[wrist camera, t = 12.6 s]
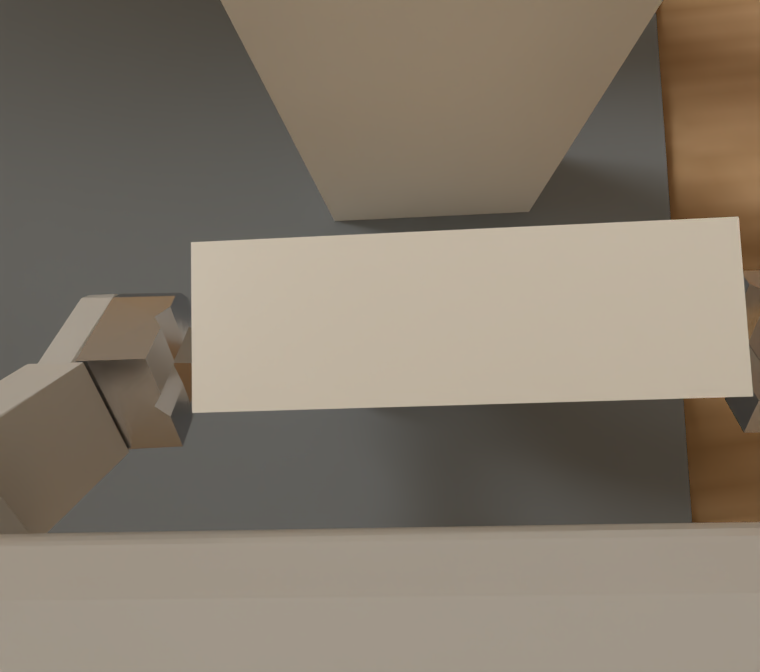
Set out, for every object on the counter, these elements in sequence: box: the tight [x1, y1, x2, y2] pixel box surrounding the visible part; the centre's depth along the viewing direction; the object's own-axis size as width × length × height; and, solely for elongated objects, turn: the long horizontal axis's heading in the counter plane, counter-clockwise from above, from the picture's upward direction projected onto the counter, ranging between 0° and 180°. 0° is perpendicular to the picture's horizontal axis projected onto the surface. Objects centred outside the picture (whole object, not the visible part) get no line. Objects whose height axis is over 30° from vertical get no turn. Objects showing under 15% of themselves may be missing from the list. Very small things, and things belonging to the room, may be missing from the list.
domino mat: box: [0, 0, 692, 533], centre depth 17 cm, size 18×38×1 cm, turn 2°
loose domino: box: [191, 217, 753, 413], centre depth 11 cm, size 5×2×10 cm, turn 92°
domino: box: [220, 0, 663, 221], centre depth 11 cm, size 5×2×10 cm, turn 92°
